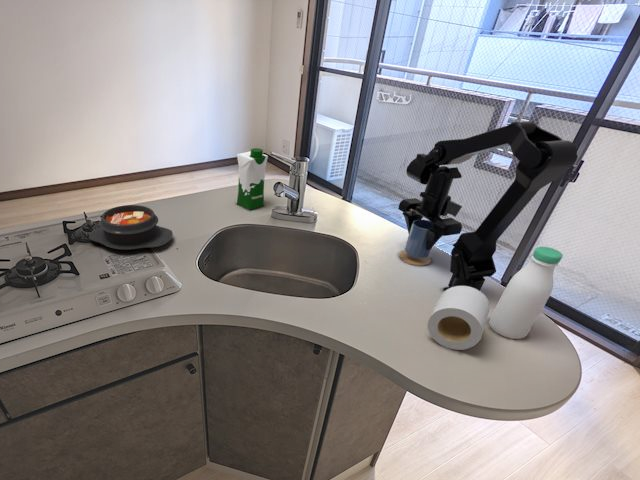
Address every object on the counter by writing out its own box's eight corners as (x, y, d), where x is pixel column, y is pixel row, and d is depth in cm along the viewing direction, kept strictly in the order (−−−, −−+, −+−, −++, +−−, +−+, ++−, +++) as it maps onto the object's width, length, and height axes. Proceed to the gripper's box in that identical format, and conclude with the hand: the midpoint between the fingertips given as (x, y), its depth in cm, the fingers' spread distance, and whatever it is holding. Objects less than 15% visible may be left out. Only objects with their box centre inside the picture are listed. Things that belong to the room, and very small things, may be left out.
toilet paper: (432, 315, 93) (447, 279, 87) (479, 331, 88) (497, 295, 82) (421, 337, 86) (436, 301, 80) (471, 357, 82) (490, 319, 76)
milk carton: (249, 211, 139) (251, 153, 127) (233, 203, 145) (233, 147, 133) (267, 206, 144) (271, 149, 132) (251, 198, 149) (253, 143, 137)
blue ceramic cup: (414, 259, 110) (423, 231, 105) (399, 247, 115) (407, 220, 110) (441, 254, 112) (451, 227, 107) (425, 244, 117) (434, 217, 112)
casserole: (78, 250, 114) (71, 223, 109) (106, 223, 128) (101, 199, 124) (161, 259, 111) (158, 232, 106) (180, 230, 126) (178, 205, 121)
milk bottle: (524, 345, 85) (572, 265, 73) (485, 330, 89) (524, 252, 77) (528, 327, 90) (574, 249, 78) (491, 314, 94) (529, 238, 82)
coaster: (436, 263, 113) (437, 262, 112) (411, 267, 110) (412, 266, 110) (417, 249, 119) (417, 248, 119) (393, 253, 117) (393, 252, 117)
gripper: (489, 200, 98) (466, 255, 107) (437, 176, 112) (421, 227, 121) (453, 205, 95) (433, 261, 104) (404, 180, 109) (390, 231, 118)
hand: (419, 244), depth 112 cm, fingers closed on blue ceramic cup, 7 cm apart
